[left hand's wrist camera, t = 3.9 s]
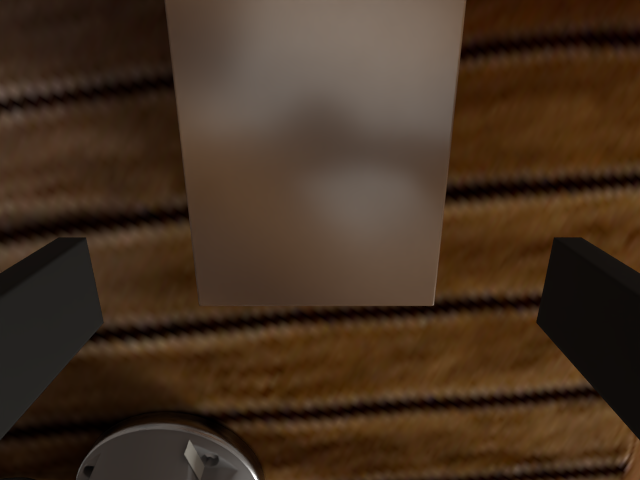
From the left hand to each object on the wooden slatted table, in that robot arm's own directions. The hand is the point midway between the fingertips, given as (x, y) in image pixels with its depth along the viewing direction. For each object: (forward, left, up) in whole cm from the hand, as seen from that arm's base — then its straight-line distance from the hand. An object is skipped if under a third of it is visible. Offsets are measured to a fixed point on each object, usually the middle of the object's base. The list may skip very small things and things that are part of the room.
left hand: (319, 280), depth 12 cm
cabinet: (0, +5, -16) cm, 17 cm away
